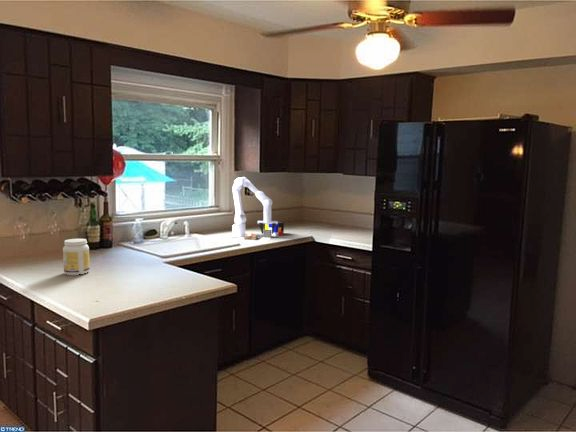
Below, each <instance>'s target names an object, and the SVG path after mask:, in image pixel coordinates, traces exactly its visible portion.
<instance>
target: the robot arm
mask: <svg viewBox="0 0 576 432" xmlns="http://www.w3.org/2000/svg"><path fill="white" fill-rule="evenodd" d="M243 187H244V188H248V189H249V190H250V191H251V192H252V193H254V194H255V198H257V199H258V200H259V201H260V203H261V204H262V206H263V220H257V224H258V226H259V229H260V232H261V234H262V235H263V231H264V225H265V224H272V234H273V233H274V229H275V226H276V224H278V222H279V221H277V220H272V205H273V200H272V198H269V196H267V195H266V194H265V192H264V191H262V190H259V189H258V188H256V186H255V185H254V184H253V183H252V182H251V181H250V180H249V179H248V178H247V177H246V176H242V177H237V178H236V179H235V180H233V185H232V196H233V202H234V209H235V214H234V219H233V220H234V221H233V222H234V224H233V225H232V226H231V227H232V228H231V230H232V231H231V234H232V235H231V237H232V238H241V237H244V236H245V235H246V222H247V216H246V214H245V212H244V210H243V209H244V208H243V203H242V202H243V201H242V197H241V190H242V188H243Z"/></svg>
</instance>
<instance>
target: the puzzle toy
mask: <svg viewBox="0 0 576 432" xmlns="http://www.w3.org/2000/svg"><path fill="white" fill-rule="evenodd" d="M284 224H285V222H283V221H282V222H281V221H278V224H276V226H275V229H274V233H273V234H272V224H264V230H271V237H272V236H273V237H278V236H282V235H284V234H285V229H284V227H285V225H284Z"/></svg>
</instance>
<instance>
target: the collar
mask: <svg viewBox="0 0 576 432" xmlns="http://www.w3.org/2000/svg"><path fill="white" fill-rule="evenodd" d="M248 234H249V233H245V236H243V237H244V240H253V241H256V240H257V239H258V236H259V235H258V234H257V233H254V234H255V236H248Z"/></svg>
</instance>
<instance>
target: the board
mask: <svg viewBox="0 0 576 432" xmlns="http://www.w3.org/2000/svg"><path fill="white" fill-rule="evenodd" d="M270 239H271V238H263V237H262V238H261V239H260V240H259V242H268V241H269V240H270Z"/></svg>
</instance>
